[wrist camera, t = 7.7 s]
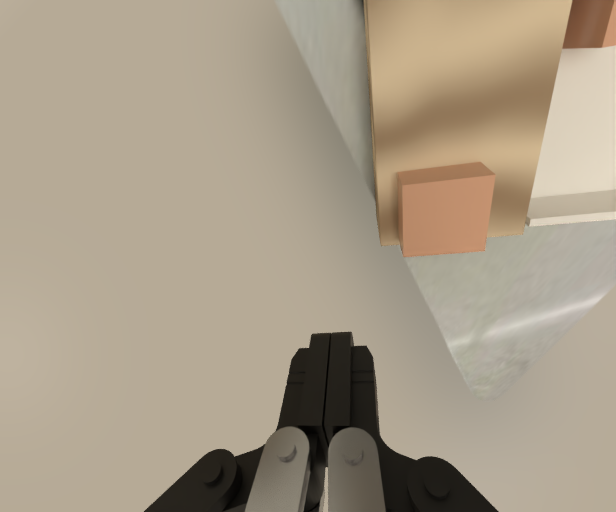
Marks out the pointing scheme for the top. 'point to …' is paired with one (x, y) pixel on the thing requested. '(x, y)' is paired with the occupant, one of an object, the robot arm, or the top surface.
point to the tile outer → (444, 209)
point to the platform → (461, 95)
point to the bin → (578, 142)
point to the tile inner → (591, 24)
